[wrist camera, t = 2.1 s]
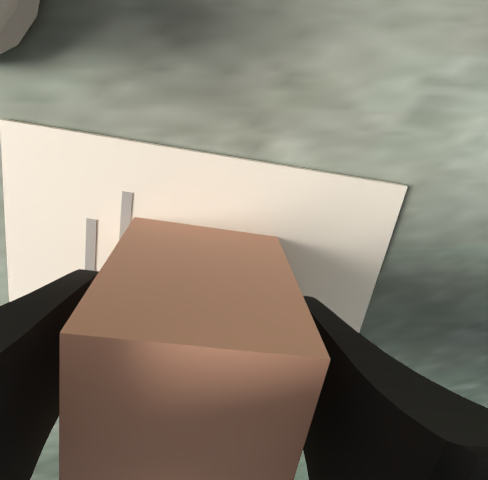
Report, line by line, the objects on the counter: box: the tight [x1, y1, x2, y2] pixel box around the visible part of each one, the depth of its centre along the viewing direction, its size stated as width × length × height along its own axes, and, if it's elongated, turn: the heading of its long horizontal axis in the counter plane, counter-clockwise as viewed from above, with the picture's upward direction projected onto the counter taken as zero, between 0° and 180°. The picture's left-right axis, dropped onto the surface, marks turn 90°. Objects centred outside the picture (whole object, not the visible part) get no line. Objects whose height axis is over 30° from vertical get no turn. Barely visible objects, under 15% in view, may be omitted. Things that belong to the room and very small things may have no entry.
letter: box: [0, 119, 408, 333], centre depth 13 cm, size 12×9×1 cm
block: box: [59, 217, 331, 480], centre depth 10 cm, size 4×4×6 cm
